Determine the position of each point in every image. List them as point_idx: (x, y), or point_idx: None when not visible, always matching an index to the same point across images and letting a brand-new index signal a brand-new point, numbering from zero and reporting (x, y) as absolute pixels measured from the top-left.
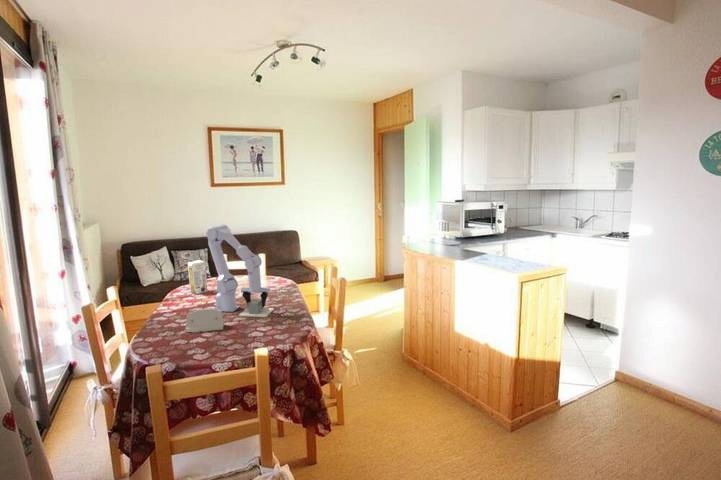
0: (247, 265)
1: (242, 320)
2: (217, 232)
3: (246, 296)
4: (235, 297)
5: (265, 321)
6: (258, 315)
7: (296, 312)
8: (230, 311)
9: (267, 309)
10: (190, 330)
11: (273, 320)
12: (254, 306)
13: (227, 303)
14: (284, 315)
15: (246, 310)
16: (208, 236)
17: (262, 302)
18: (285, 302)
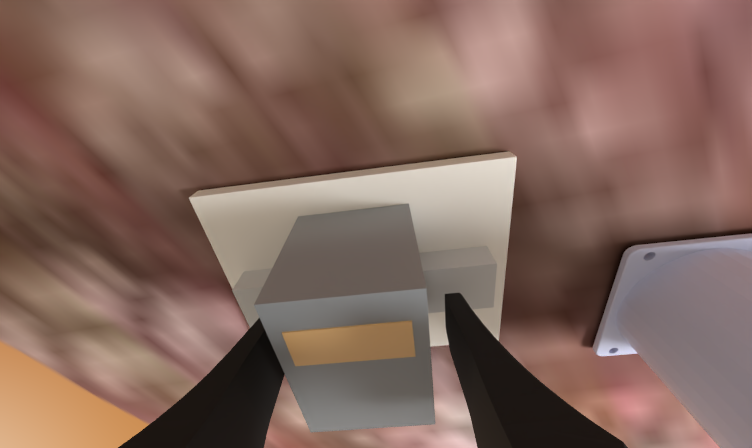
0: None
1: (394, 14)
2: None
3: (510, 430)
4: (714, 427)
5: (79, 56)
6: (273, 186)
7: (50, 331)
8: (655, 243)
9: (237, 300)
10: None
11: (27, 114)
12: (321, 265)
13: None
14: (71, 262)
15: (468, 257)
16: None
17: (237, 356)
18: (292, 444)
